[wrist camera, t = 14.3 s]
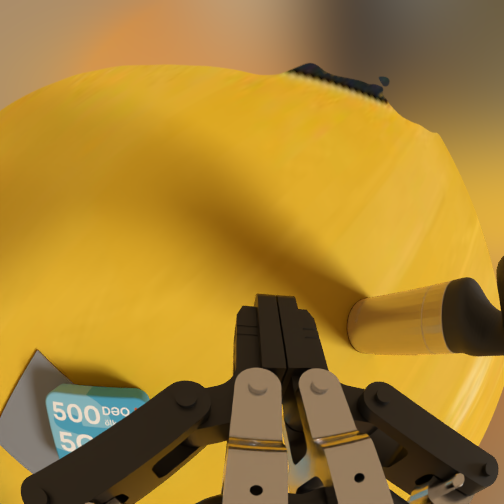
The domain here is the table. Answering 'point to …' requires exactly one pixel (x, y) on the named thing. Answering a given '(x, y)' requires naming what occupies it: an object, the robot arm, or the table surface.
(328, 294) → the table surface
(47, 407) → the data package
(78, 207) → the table surface
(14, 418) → the mat
